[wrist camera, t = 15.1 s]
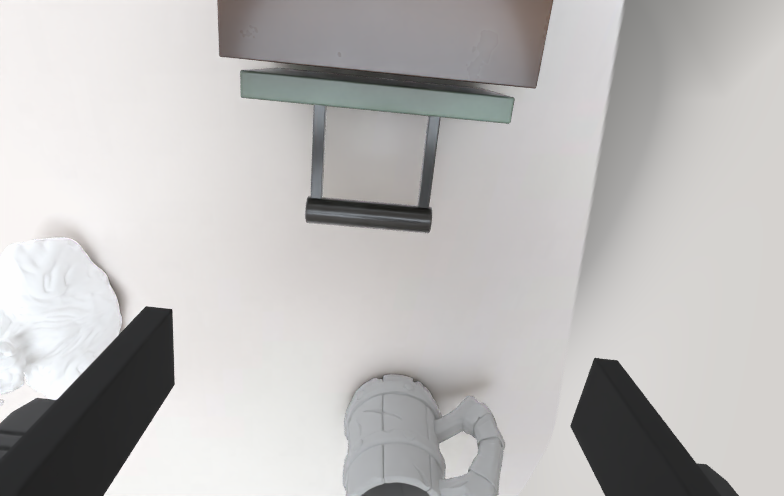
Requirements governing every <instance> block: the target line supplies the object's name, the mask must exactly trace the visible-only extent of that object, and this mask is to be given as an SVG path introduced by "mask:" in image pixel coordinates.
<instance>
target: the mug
mask: <svg viewBox="0 0 784 496" xmlns="http://www.w3.org/2000/svg"><path fill="white" fill-rule="evenodd" d="M344 427H345V436H346V437H347V440H348V454H347V456H346V458H345V462H344V468H343V486H344V487H345V490H346V496H497V495H498V490H499V478H500V471H501V466H502V459H503V450H504V448H505V442H504V439H503V437H502V435H501V433H500V431H499V429H498V428H497V424H496V421H495V418H494V416H493V414H492V412H491V411H490V409H489V408H488V407H487V406H486V405H485V404H484V403H479V402H478V401H477V400H476V399H475V398H474V397H473V396H468V397H466V398H465V399H464V400H463V401H462V402H461V403H460V405H459V406H458V407H457V408H456V409H454V410H453V411H452V412H450V413H449V414H447V415H445V416H444V417H442V416H441V413H440V411H439V408H438V406H437V404H436V402H435V401H434V399H433V397H432V395H431V393H430V391H429V390H428V389H427V388H426V387H423V384H421V383H420V382H419V381H417V382H414V381H413V378H411V377H408V376H404V375H397V374H395V375H394V374H388V375H384V376H383V379H378V378H373V379H371V380H369V381H368V382H366V383H365V384H363V385H362V386H361V387H360V388H359V389H358V390H357V391H356V392H355V394H354V396H353V398H352V401H351V402H350V404H349V406H348V408H347V411H346V414H345V420H344ZM461 431H464V432H465V433H468V434H470V435H472V436H473V437H474V438H476V439H477V445H478V449H479V450H478V454H477V456H476V457H475V458H474V460H473V462H472V464H471V466H470V468H469V469H468V473H467V474H465V475H462V476H459V477H455V478H450V479H445V468H446V466H445V461H444V458H443V457H442V455H441V453H440V451H439V443H441V442H443V441H445V440H447V439H448V438H450V437H452V436H454V435H456V434H458V433H460V432H461Z"/></svg>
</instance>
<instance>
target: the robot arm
mask: <svg viewBox="0 0 784 496" xmlns="http://www.w3.org/2000/svg"><path fill="white" fill-rule="evenodd" d="M174 385H175V382H174V350H173V318H172V309H165V308H156V307H147V306H146V307H145V308H144V309H143V310H142V311H141V312H140V313H139V314H138V315H137V316H136V317H135V318H134V319H133V321H132V322H131V323H130V324H129V325H128V326H127V327H126V328H125V329H124V330H123V331H122V332H121V333H120V334H119V335H118V336H117V337H116V338H115V339H114V340H113V341H112V343H111V344H110V345H109V346H108V347H107V348H106V349H105V350H104V351H103V352H102V353H101V354H100V355H99V356H98V357H97V358H96V359H95V360H94V361H93V362H92V363H91V365H90V366H89V367H88V368H87V369H86V370H85V371H84V372H83V373H82V374H81V375H80V376H79V377H78V378H77V379H76V380H75V381H74V382H73V383H72V384H71V385H70V386H69V388H68V389H67V390H66V391H65V392H64V393H63V394H62V395H61V396H60V397H59V398H58V399H57V400H52V399H42V398H36V399H34V400H33V401H31V402H29V403H27V404H26V405H24V406H22V407H20V408H19V409H17V410H15V411H13V412H12V413H11V414H10V415H9V416H8V417H7V418H6V419H4V420H3V421H2V422H1V423H0V496H104V494H105V492H106V491H107V489H108V488H109V486H110V485H111V483H112V481H113V480H114V478H115V477H116V475H117V474H118V472H119V471H120V469H121V467H122V466H123V464H124V463H125V461H126V460H127V458H128V456H129V455H130V453H131V452H132V450H133V449H134V447H135V446H136V444H137V442H138V441H139V439H140V438H141V436H142V435H143V433H144V431H145V430H146V428H147V427H148V425H149V424H150V422H151V421H152V419H153V417H154V416H155V414H156V413H157V411H158V410H159V408H160V407H161V405H162V403H163V402H164V400H165V399H166V397H167V396H168V394H169V392H170V391H171V389H172V388H173V386H174ZM571 428H572V430H573V432H574V434H575V436H576V438H577V440H578V442H579V444H580V446H581V448H582V450H583V452H584V454H585V456H586V458H587V460H588V462H589V464H590V466H591V468H592V470H593V472H594V474H595V476H596V478H597V480H598V482H599V484H600V486H601V488H602V490H603V492H604V494H605V496H738V494H737V493H736V492H735V491H734V489H733V488H732V487H731V486H730V485H729V483H728V482H727V481H726V480H725V479H724V478H722V477H721V476H720V475H719V474H717V473H716V472H715V471H714V470H713V469H711V468H710V467H709V466H708V465H706V464H696V463H695V461H694V460H693V458H692V457H691V456H690V454H689V453H688V452H687V450H686V449H685V448H684V447H683V445H682V444H681V443H680V442H679V440H678V439H677V438H676V436H675V435H674V434H673V432H672V431H671V430H670V428H669V427H668V426H667V424H666V423H665V422H664V421H663V420H662V418H661V417H660V415H659V414H658V413H657V411H656V410H655V409H654V407H653V406H652V405H651V404H650V402H649V401H648V400H647V398H646V397H645V396H644V394H643V393H642V392H641V390H640V389H639V388H638V387H637V385H636V384H635V383H634V381H633V380H632V379H631V377H630V376H629V375H628V374H627V372H626V371H625V370H624V368H623V367H622V366H621V364H620V363H619V362H618V361H617V360H608V359H599V358H594V361H593V364H592V366H591V369H590V372H589V375H588V378H587V380H586V383H585V386H584V389H583V392H582V395H581V397H580V400H579V403H578V406H577V409H576V412H575V414H574V417H573V420H572V423H571Z"/></svg>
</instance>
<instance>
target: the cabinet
mask: <svg viewBox="0 0 784 496" xmlns="http://www.w3.org/2000/svg"><path fill="white" fill-rule="evenodd" d="M552 4H553V0H218V30H219V56H220V57H229V58H239V59H249V60H259V61H269V62H279V63H288V64H298V65H308V66H318V67H328V68H338V69H348V70H358V71H367V72H377V73H387V74H397V75H407V76H417V77H427V78H436V79H446V80H456V81H466V82H476V83H486V84H496V85H506V86H515V87H525V88H536V86H537V81H538V76H539V71H540V66H541V60H542V55H543V50H544V45H545V40H546V35H547V30H548V24H549V19H550V14H551V9H552Z"/></svg>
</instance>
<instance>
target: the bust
mask: <svg viewBox="0 0 784 496" xmlns="http://www.w3.org/2000/svg"><path fill="white" fill-rule="evenodd" d="M121 325H122V315H121V314H120V308H119V303H118V299H117V297H116V294H115V292H114V291H113V289H112V287H111V286H110V283H109V278H108V276H107V274H106V273H105V272H104V271H103V270H101V269H100V268H99V267H98V266H96V265H95V264H94V263H93V262H92V261H91V260H90V258H89V256H88V255H87V254H86V252H85V251H84V250H83V248H82V247H81V246H80V244H79V243H78V242H76V241H75V240H73V239H70V238H63V237H55V238H45V239H34V240H31V241H29V242H22V243H13V244H10V245H9V246H8V247H7V248H6V249H5V250H4V252H3V253H2V254H1V255H0V395H2V394H4V393H9V392H12V391H14V390H16V389H18V388H20V387H21V386H22V385H23V384H24V376H26V382H27V384H28V385H29V386H30V387H32V388H33V389H34V390H36V391H38V392H41V393H43V394H44V395H45V396H47V397H48V398H49V399H52V400H57V399H58V398H59V397H60V396H61V395H62V394H63V393H64V392H65V391H66V390H67V389H68V388H69V386H70V385H71V384H72V383H73V382H74V381H75V380H76V379H77V378H78V377H79V376H80V375H81V374H82V373H83V372H84V371H85V370H86V369H87V368H88V367H89V366H90V365H91V363H92V362H93V361H94V360H95V359H96V358H97V357H98V356H99V355H100V354H101V353H102V352H103V351H104V350H105V349H106V348H107V347H108V346H109V345H110V344H111V343H112V341H113V340H114V339H115V338H116V337H117V336H118V335H119V332H120V329H121ZM24 373H25V374H24ZM3 403H4V401H3V400H2V399H0V406H1V405H3Z"/></svg>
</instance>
